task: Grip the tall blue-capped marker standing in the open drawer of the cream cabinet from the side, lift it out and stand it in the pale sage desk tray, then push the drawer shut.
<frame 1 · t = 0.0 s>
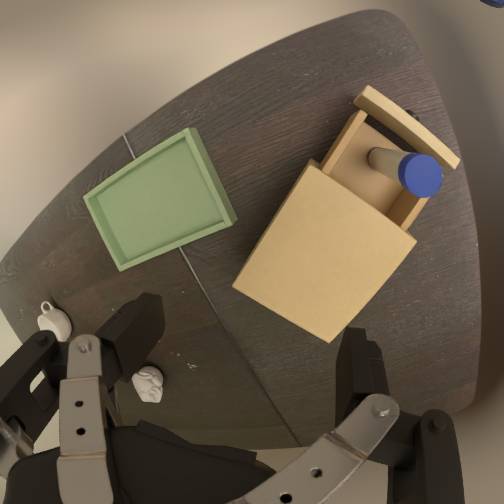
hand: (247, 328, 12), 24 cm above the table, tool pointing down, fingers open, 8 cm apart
frog figurine: (157, 370, 51), on the table
drawer: (377, 170, 26), point 4 cm above the table, slide at 8.0 cm, touching marker
teacup: (62, 314, 53), on the table
marker: (378, 158, 28), point 2 cm above the table, touching drawer
cabinet: (321, 236, 34), on the table
tray: (155, 203, 37), on the table
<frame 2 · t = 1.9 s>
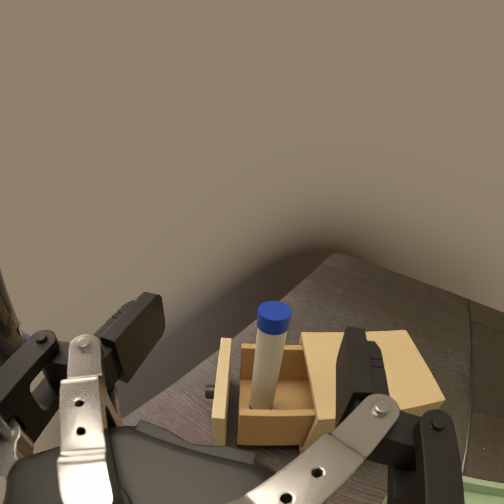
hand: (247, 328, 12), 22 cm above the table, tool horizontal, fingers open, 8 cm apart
drawer: (273, 395, 29), point 4 cm above the table, slide at 8.0 cm, touching marker
marker: (260, 406, 30), point 2 cm above the table, touching drawer
cabinet: (350, 411, 31), on the table
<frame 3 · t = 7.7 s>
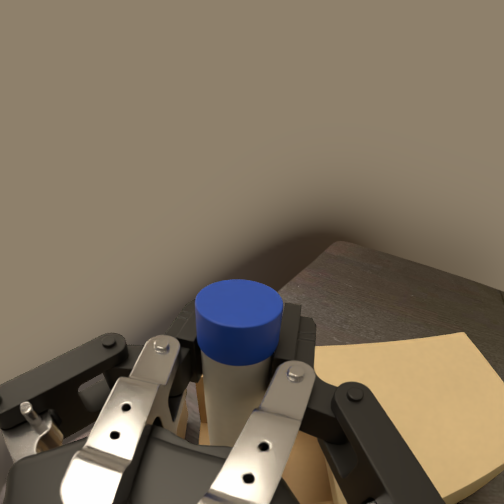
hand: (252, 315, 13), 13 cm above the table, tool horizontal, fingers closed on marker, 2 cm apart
drawer: (254, 460, 14), point 4 cm above the table, slide at 8.0 cm, touching marker
marker: (233, 473, 15), point 2 cm above the table, touching drawer, gripper
cabinet: (383, 465, 16), on the table
when the fingers open (12 cm above the table, at t = 16.9 s): marker stays where it is, resting on tray.
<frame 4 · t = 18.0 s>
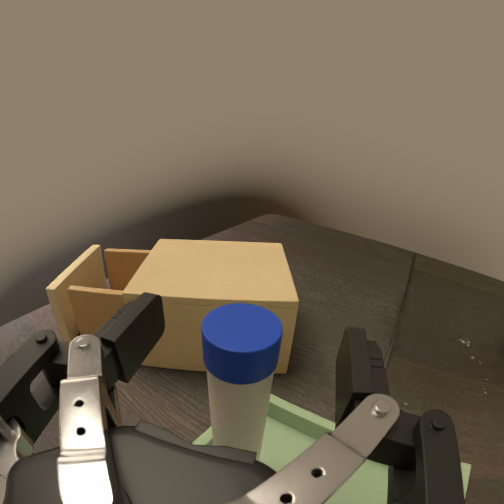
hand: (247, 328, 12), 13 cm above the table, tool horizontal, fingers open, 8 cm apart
drawer: (122, 294, 29), point 4 cm above the table, slide at 8.0 cm
marker: (236, 476, 15), resting on tray
cabinet: (215, 332, 31), on the table
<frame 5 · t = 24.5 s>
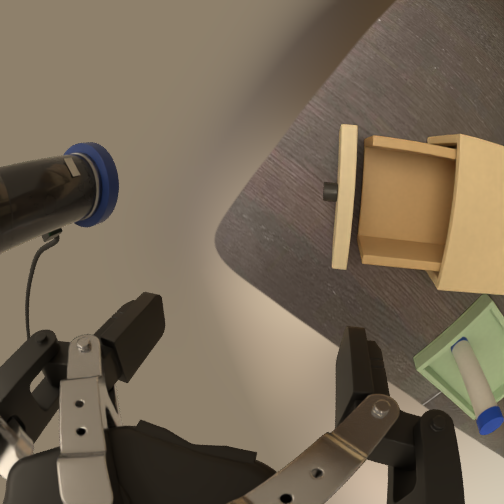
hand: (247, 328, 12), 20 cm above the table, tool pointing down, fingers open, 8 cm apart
drawer: (405, 200, 22), point 4 cm above the table, slide at 8.0 cm
marker: (459, 344, 28), resting on tray
cabinet: (478, 206, 23), on the table
tray: (479, 361, 29), on the table
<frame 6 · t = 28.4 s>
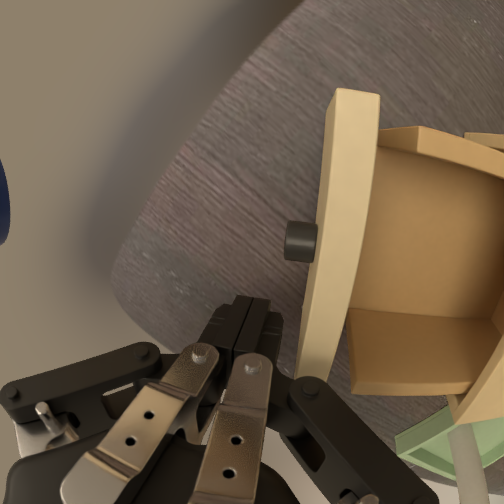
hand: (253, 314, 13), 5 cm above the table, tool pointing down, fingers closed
drawer: (447, 262, 11), point 4 cm above the table, slide at 6.9 cm, touching gripper
marker: (456, 421, 19), resting on tray
tray: (477, 430, 20), on the table
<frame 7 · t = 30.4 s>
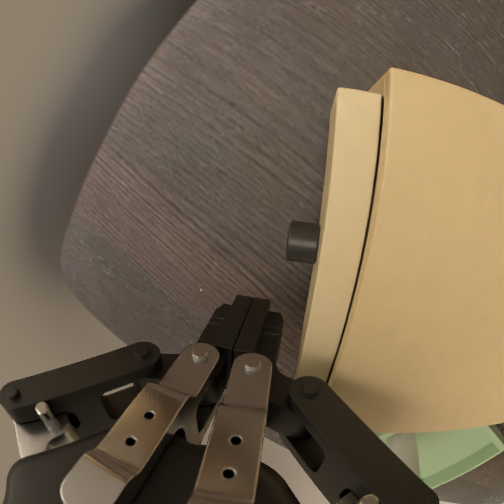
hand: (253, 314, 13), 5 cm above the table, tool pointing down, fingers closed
drawer: (451, 264, 10), point 4 cm above the table, slide at 0.0 cm, touching cabinet, gripper
marker: (400, 429, 19), resting on tray
cabinet: (456, 240, 14), on the table
tray: (432, 441, 20), on the table
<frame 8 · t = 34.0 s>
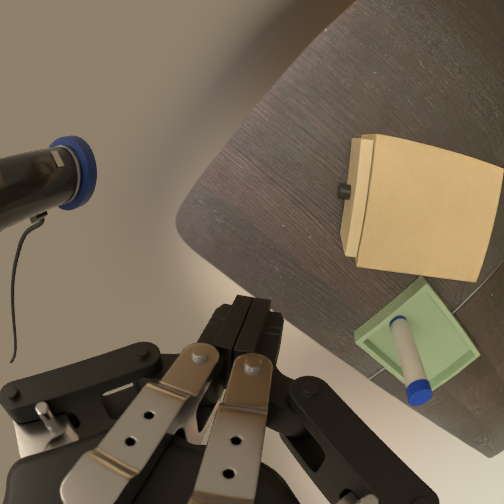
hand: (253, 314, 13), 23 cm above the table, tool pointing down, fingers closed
drawer: (405, 201, 27), point 4 cm above the table, slide at 0.0 cm, touching cabinet
marker: (398, 322, 36), resting on tray
cabinet: (412, 197, 30), on the table
tray: (422, 340, 37), on the table
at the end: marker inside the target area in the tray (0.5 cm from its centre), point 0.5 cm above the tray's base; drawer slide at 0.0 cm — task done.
